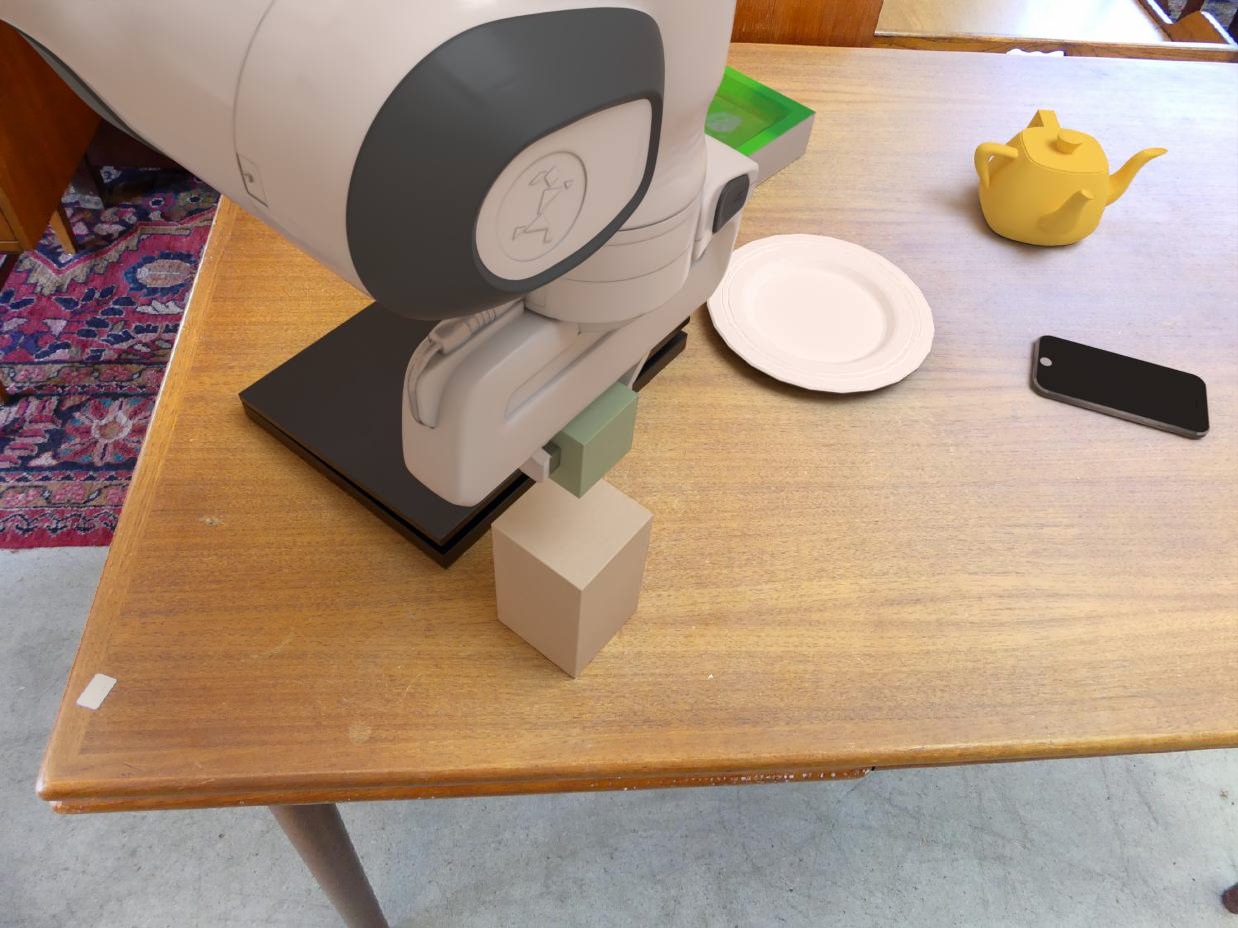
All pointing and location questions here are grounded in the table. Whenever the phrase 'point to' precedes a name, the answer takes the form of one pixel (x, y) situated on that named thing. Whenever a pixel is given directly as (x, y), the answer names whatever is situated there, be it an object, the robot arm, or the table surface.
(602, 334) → the robot arm
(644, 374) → the laptop
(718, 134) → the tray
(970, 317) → the table surface
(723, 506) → the table surface
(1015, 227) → the teapot
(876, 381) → the plate
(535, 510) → the stand
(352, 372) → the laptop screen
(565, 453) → the block
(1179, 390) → the smartphone
